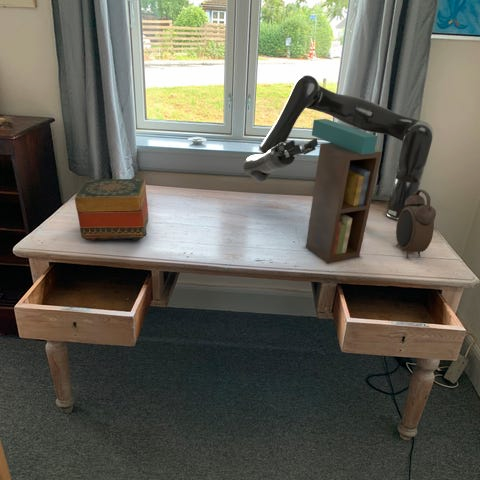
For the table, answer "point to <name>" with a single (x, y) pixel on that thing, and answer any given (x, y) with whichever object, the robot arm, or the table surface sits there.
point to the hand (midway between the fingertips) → (305, 142)
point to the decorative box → (112, 209)
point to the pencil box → (344, 136)
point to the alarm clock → (415, 224)
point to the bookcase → (341, 202)
